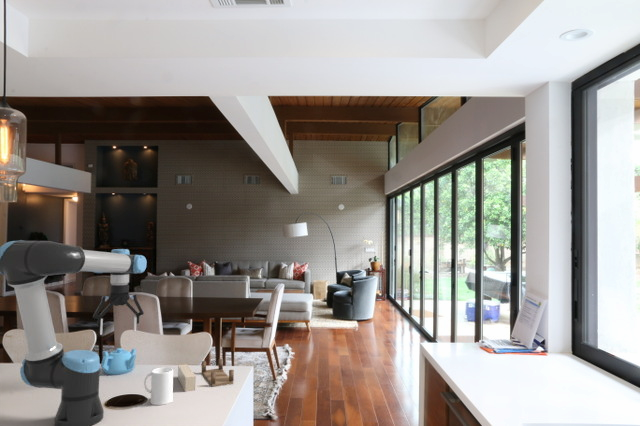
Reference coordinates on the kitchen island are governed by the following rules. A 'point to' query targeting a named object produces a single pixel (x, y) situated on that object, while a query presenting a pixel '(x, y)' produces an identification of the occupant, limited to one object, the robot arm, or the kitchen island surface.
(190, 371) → the beige long block
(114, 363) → the teapot
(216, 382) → the rack
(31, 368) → the robot arm
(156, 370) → the mug
